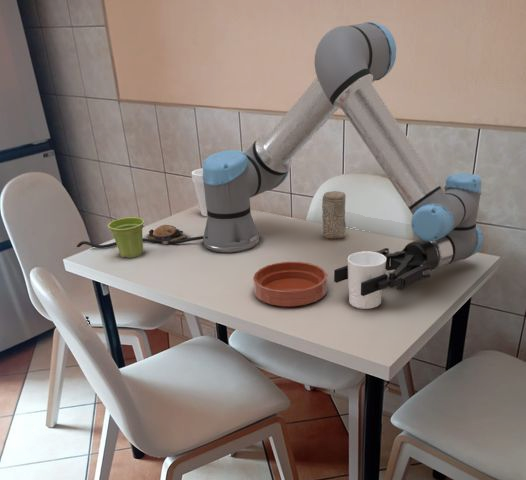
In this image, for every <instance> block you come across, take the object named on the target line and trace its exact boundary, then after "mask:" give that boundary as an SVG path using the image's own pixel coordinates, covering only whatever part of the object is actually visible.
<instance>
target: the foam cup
mask: <svg viewBox="0 0 526 480" xmlns="http://www.w3.org/2000/svg"><path fill="white" fill-rule="evenodd" d="M191 180H192V182H193V187H194V191H195V195H196V198H197V199H196V200H197V203H198V207H199V211H200V214H201V216H203V217H207V207H206V199H205V190H204V182H203V167H202V168H197V169H194V170H193V171H191Z"/></svg>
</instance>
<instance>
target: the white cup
mask: <svg viewBox="0 0 526 480" xmlns="http://www.w3.org/2000/svg"><path fill="white" fill-rule="evenodd" d="M347 265H348V279H347V286H348V303H349V304H350V305H351V306H352V307H354V308H357V309H362V310H368V309H369V310H371V309H374V308H377V307H379V306H380V305H381V304H382V295H383V291H384V289H383V290H378V291H376V292H373V293H370V294H368V295H365V296H362V295H361V283H362V282H364V281H367V280H370V279H373V278H375V277H378V276H381V275H384V274H386V269H385V268H386V257H385V256H384V255H382V254H380V253H377V252H376V251H365V250H364V251H357V252H354V253H351V254H349V255H348V256H347Z"/></svg>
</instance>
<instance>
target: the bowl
mask: <svg viewBox="0 0 526 480" xmlns="http://www.w3.org/2000/svg"><path fill="white" fill-rule="evenodd" d="M252 280H253V291H254V292H253V293H254V295H255V297H256V298H257V299H258V300H260V302H263V303H266V304H268V305H271V306H272V305H273V306H278V307H299V306H306V305H309V304H312V303H315V302H317V301H319V300H320V299H323V298H324V296H326V295H327V292H328V273H327V272H326V270H325V269H324V268H322V267H320V266H319V265H317V264H313V263H311V262H304V261H283V262H275V263H272V264H268V265H265V266H263V267H261V268H260V269H258V270H257V271H256V272H255V273H254V275H253V279H252Z"/></svg>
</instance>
